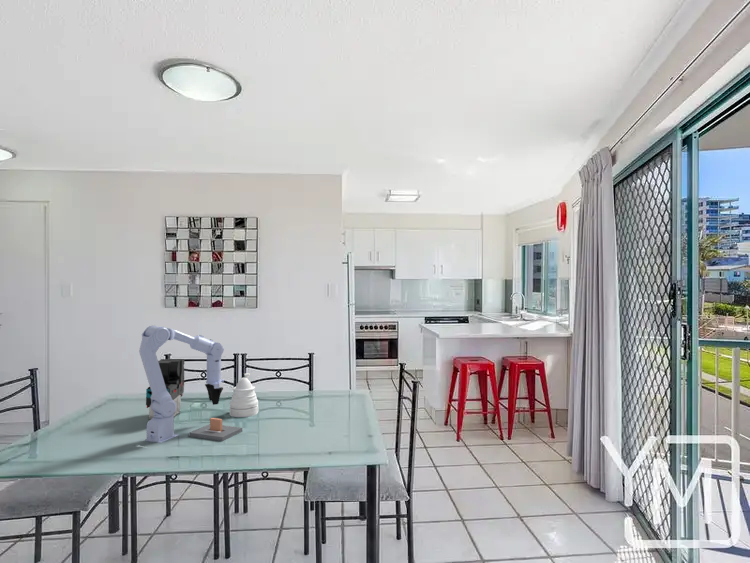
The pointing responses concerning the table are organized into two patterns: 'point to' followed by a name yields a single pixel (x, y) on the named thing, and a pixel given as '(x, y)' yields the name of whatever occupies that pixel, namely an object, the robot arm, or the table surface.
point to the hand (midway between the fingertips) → (213, 402)
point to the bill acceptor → (170, 382)
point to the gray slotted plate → (215, 433)
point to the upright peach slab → (216, 424)
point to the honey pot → (244, 399)
